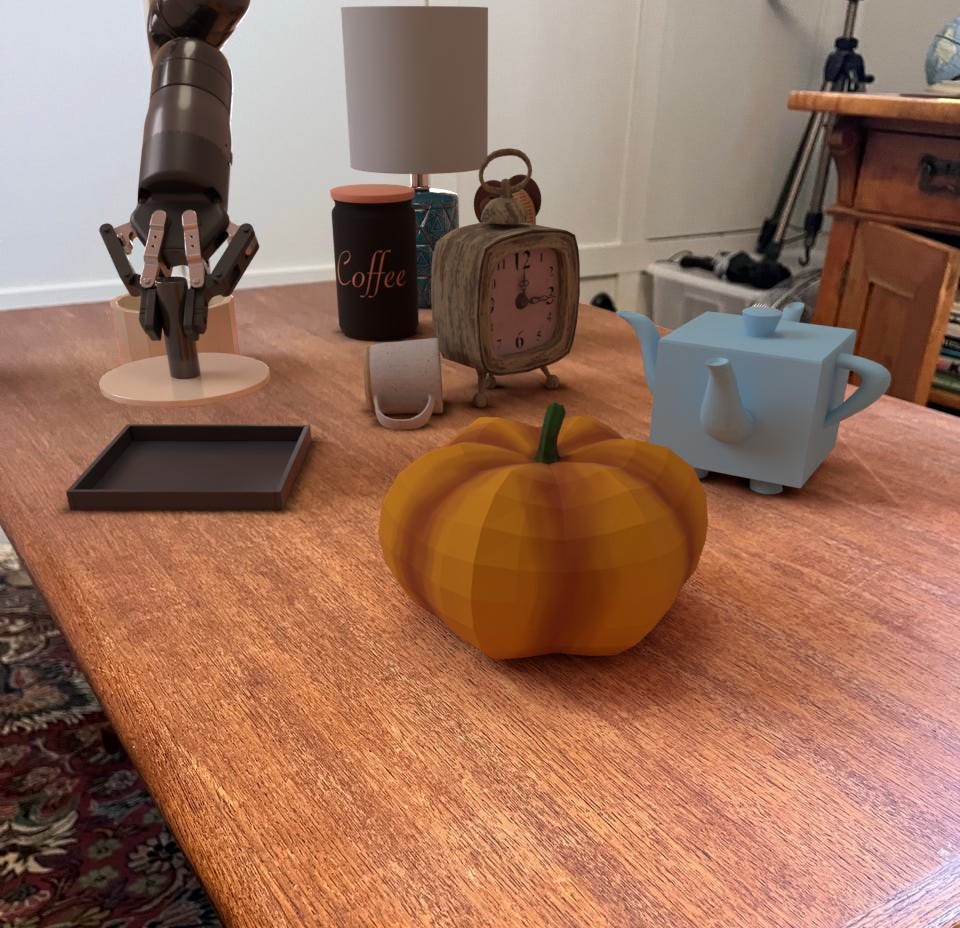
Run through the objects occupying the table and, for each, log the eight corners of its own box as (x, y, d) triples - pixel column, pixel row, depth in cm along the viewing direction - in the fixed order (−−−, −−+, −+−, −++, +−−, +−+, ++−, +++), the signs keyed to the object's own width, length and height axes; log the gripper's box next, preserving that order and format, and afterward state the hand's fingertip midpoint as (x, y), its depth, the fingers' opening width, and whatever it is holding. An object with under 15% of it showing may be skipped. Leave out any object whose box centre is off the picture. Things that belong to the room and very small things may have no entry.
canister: (108, 389, 116) (93, 313, 111) (142, 356, 127) (130, 286, 123) (227, 389, 115) (217, 313, 111) (250, 356, 127) (242, 286, 123)
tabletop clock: (476, 416, 107) (476, 156, 95) (425, 396, 113) (418, 149, 101) (574, 390, 115) (587, 147, 103) (522, 372, 121) (527, 141, 109)
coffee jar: (328, 341, 133) (316, 193, 124) (355, 322, 142) (347, 182, 133) (405, 346, 131) (400, 196, 122) (428, 326, 140) (425, 185, 131)
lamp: (391, 325, 141) (377, 5, 121) (339, 297, 155) (318, 8, 136) (510, 309, 149) (515, 6, 129) (450, 284, 163) (446, 9, 144)
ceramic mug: (368, 401, 112) (364, 330, 108) (442, 399, 112) (441, 329, 108) (364, 435, 103) (359, 360, 99) (444, 434, 103) (443, 359, 99)
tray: (70, 513, 86) (65, 491, 85) (130, 443, 100) (126, 424, 99) (282, 513, 86) (280, 491, 85) (311, 443, 100) (310, 424, 99)
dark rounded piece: (527, 366, 124) (532, 188, 113) (427, 349, 130) (423, 179, 120) (582, 339, 135) (590, 174, 124) (487, 325, 141) (487, 167, 131)
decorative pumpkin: (384, 557, 79) (374, 364, 71) (664, 549, 80) (684, 359, 72) (380, 704, 61) (367, 471, 54) (737, 691, 63) (774, 461, 55)
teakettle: (883, 499, 89) (921, 328, 81) (686, 521, 85) (707, 343, 77) (775, 429, 104) (799, 280, 97) (604, 444, 100) (615, 291, 93)
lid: (77, 415, 83) (52, 299, 78) (130, 365, 95) (111, 262, 90) (253, 415, 83) (239, 298, 78) (283, 365, 95) (273, 262, 90)
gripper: (90, 127, 85) (70, 311, 81) (257, 126, 85) (245, 310, 81) (122, 187, 92) (105, 359, 88) (275, 187, 92) (265, 358, 88)
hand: (172, 335), depth 84 cm, fingers closed on lid, 2 cm apart
